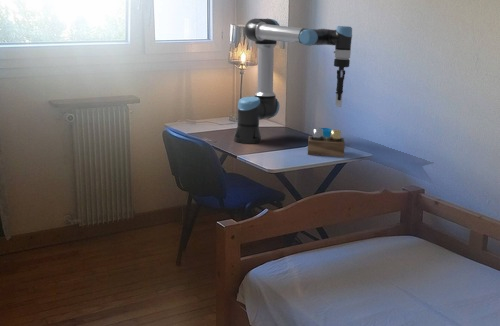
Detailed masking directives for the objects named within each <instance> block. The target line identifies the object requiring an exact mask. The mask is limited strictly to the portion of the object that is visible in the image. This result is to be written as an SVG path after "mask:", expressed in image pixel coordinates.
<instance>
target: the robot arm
mask: <svg viewBox="0 0 500 326" xmlns="http://www.w3.org/2000/svg"><path fill="white" fill-rule="evenodd" d="M244 35H245V37H246V38H248V40H250V41H253V42H254V44H255V46H256V47H257V90H256V92H255V94H254V96H244V97H242V98H240V99H239V100H238V103H237V104H238V105H237V126H236V129H235V132H234V135H233V141H234V142H235V143H240V144H241V143H242V144H258V143H259V144H260V143H261V142H262V134H261V131H260V121H261V120H265V119H266V120H270V119H271V118H274V117H276V116H277V115H278V113H279V112H280V102H279V101H278V99H277V98H276V97H277V95H276V93H275V92H274V55H275V54H274V51H275V49H274V48H275V47H276V46H277V44H278V42H285V43H292V44H301V45H303V46H307V47H308V46H310V47H311V46H323V45H324V46H327V45H328V46H335V47H334V48H335V50H333V54H334V59H333V60H334V61H333V66H334V67H336V68H338V69H337V70H336V79H337V80H336V89H335V90H336V92H335V103H334V104H335V108H336V107H338V108H342V103H343V101H342V100H343V93H344V89H343V88H344V81H345V75H346V70H345V68H349V67H350V62H351V60H350V58H351V54H352V53H351V52H352V50H351V48H352V40H353V39H352V38H353V28H352V27H351V26H349V25H345V26H344V25H338V26H336V29H329V28H328V29H327V28H317V29H314V28H303V27H295V26H287V25H280V23H279V22H278V21H277V20H276V19H272V18H252V19H250V20H248V21H247V22H246V24H245V26H244Z"/></svg>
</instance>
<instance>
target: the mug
mask: <svg viewBox="0 0 500 326" xmlns="http://www.w3.org/2000/svg"><path fill="white" fill-rule="evenodd" d="M319 128H320V129H323V137H331V130H333V129H332V128H330V127H319Z"/></svg>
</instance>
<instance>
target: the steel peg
mask: <svg viewBox="0 0 500 326" xmlns="http://www.w3.org/2000/svg"><path fill="white" fill-rule="evenodd" d="M320 128H321V127H317V128H313V131H312V136H313V139H315V140H322V139H323V129H320Z"/></svg>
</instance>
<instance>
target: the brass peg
mask: <svg viewBox="0 0 500 326" xmlns="http://www.w3.org/2000/svg"><path fill="white" fill-rule="evenodd" d="M341 135H342V130H341V129H332V130H331V138H330V140H331V141H340V138H342V137H341Z"/></svg>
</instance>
